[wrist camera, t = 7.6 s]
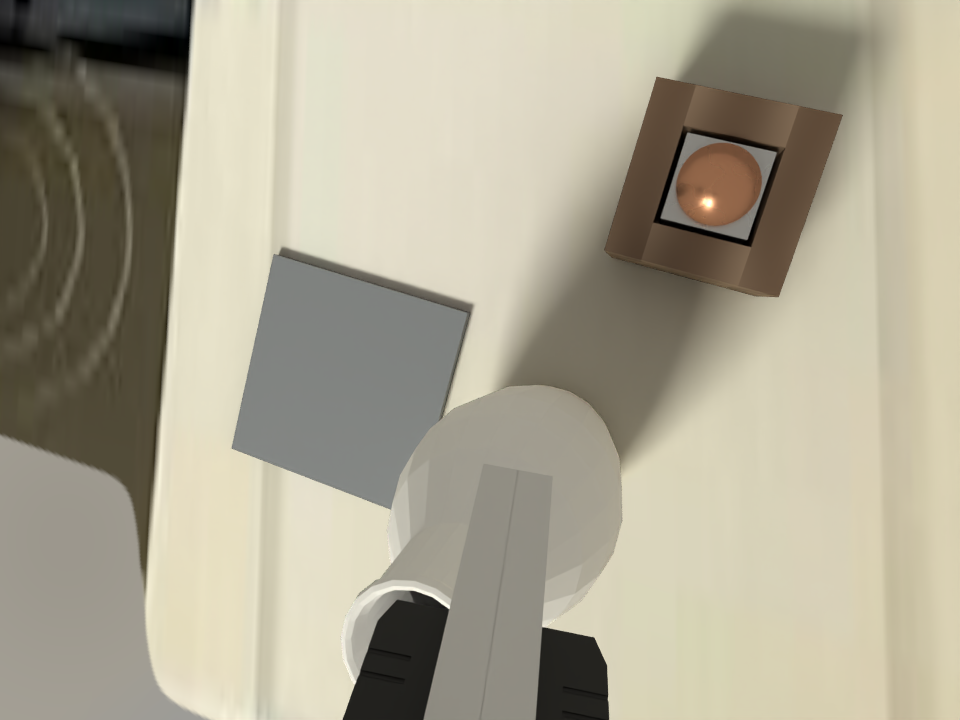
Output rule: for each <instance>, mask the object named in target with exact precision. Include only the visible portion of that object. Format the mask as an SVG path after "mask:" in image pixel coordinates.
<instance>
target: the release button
mask: <svg viewBox="0 0 960 720" xmlns="http://www.w3.org/2000/svg"><path fill="white" fill-rule="evenodd" d="M776 154H777V152H773V151H769V150H764V149H760V148H755V147H751V146H746V145H742V144H737V143H732V142H728V141H723V140H719V139H714V138H710V137H705V136H701V135H696V134H692V133H687V136H686V139H685V142H684V145H683V149H682V152H681V155H680V158H679V161H678V164H677V168H676V171H675V174H674V177H673V180H672V184H671V187H670V190H669V193H668V196H667V199H666V203H665V206H664V209H663V212H662V215H661V219H660V224H661V225H665V226H669V227H673V228H677V229H681V230H685V231H689V232H693V233H697V234H700V235H704V236H708V237H712V238H716V239H720V240H724V241H728V242H732V243H736V244H741V243H743V242H745V241H746V240H747V239H748V236H749V233H750V230H751V227H752V224H753V221H754V218H755V216H756V213H757V210H758V207H759V204H760V201H761V198H762V195H763V192H764V189H765V186H766V183H767V180H768V177H769V174H770V171H771V168H772V165H773V162H774V159H775V157H776Z"/></svg>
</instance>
